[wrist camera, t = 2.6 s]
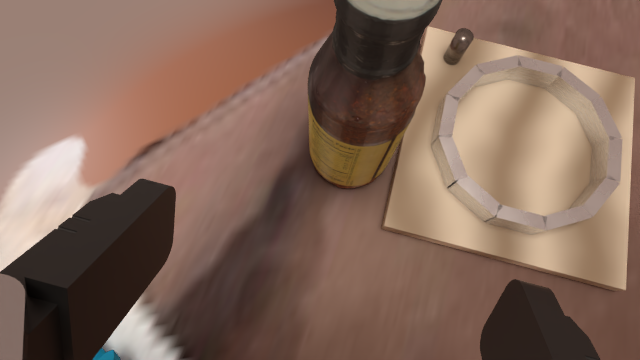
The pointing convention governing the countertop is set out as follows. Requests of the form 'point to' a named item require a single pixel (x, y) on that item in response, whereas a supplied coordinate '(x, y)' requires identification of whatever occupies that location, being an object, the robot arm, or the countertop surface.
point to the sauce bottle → (366, 87)
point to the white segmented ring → (567, 91)
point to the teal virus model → (106, 355)
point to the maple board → (514, 167)
